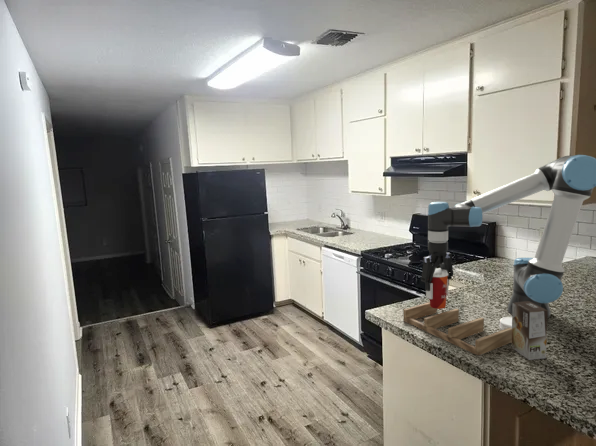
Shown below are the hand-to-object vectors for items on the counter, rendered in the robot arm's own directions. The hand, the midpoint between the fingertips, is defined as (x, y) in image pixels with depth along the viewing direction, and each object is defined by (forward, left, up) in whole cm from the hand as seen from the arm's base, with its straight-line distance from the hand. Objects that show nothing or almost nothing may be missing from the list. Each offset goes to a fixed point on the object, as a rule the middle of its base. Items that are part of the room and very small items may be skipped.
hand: (437, 296), depth 157 cm
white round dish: (-28, 0, -10) cm, 29 cm away
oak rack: (-7, +9, -10) cm, 15 cm away
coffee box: (-32, +18, -10) cm, 38 cm away
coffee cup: (0, 0, -5) cm, 5 cm away
